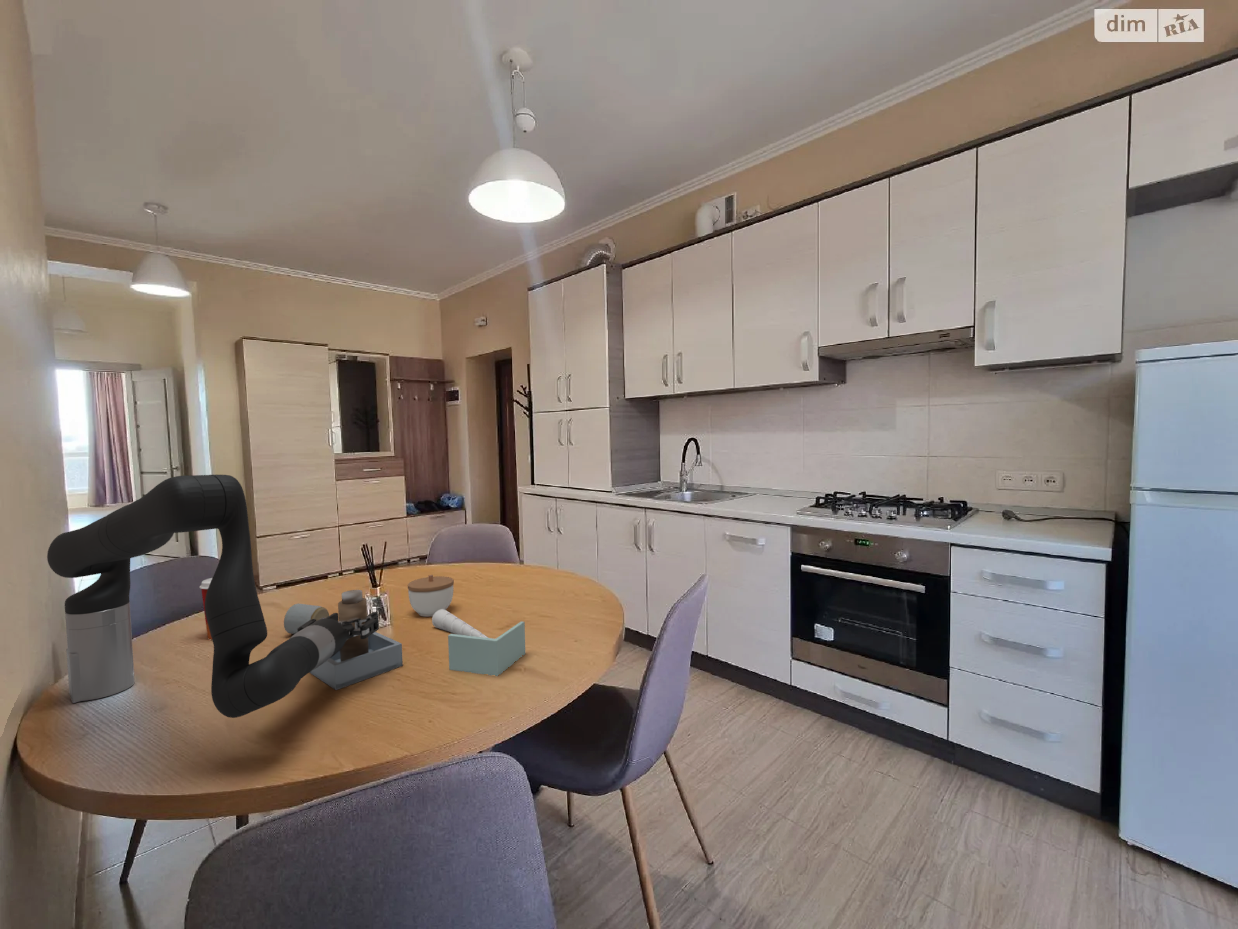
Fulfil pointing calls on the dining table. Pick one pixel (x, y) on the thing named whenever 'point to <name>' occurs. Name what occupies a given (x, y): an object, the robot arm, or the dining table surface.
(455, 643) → the right angle wall
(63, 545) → the robot arm
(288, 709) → the dining table surface
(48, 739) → the dining table surface
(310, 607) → the ceramic mug
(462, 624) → the unicorn horn
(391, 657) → the bin
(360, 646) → the pepper mill
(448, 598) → the lidded bowl
